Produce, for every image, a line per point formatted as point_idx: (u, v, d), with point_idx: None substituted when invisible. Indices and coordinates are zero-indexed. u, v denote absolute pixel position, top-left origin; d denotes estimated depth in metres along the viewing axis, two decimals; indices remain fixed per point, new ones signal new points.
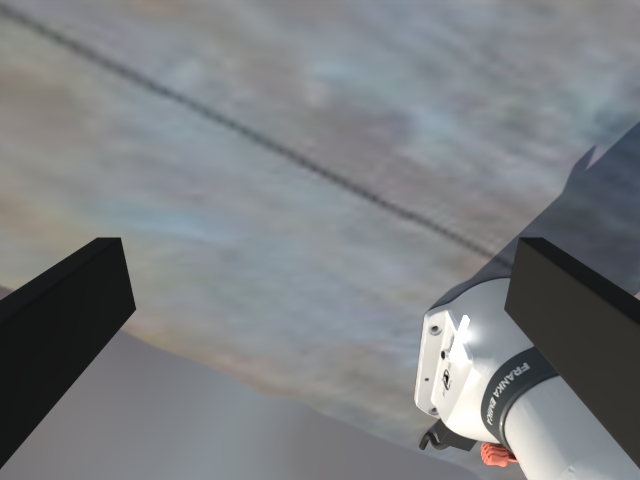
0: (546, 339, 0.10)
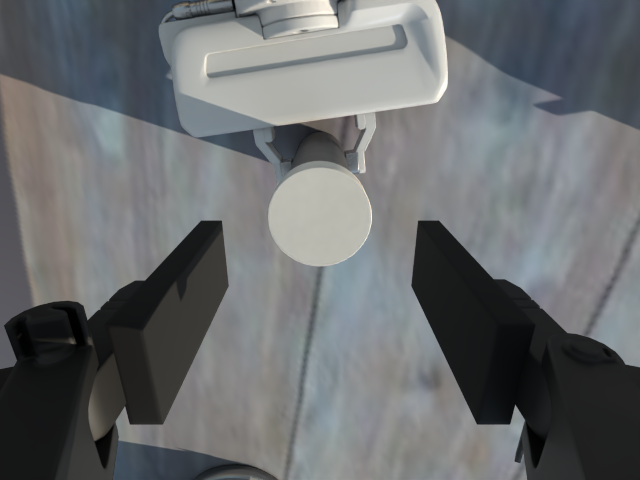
0: (429, 307, 0.12)
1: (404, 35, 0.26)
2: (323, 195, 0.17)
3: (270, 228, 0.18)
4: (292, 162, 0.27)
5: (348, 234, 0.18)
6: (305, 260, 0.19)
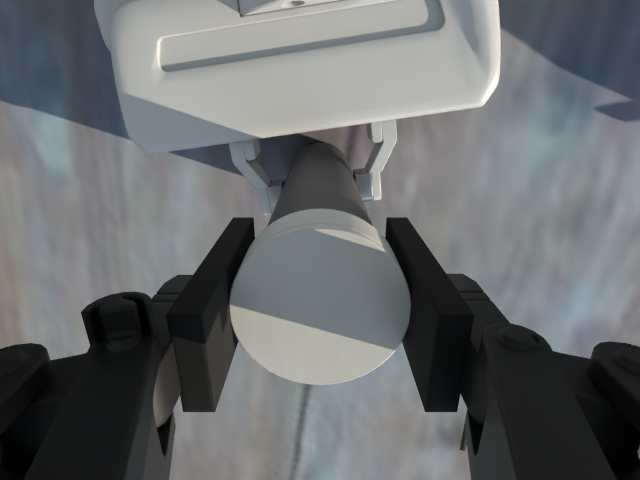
0: None
1: (440, 10, 0.18)
2: (327, 275, 0.10)
3: (234, 328, 0.10)
4: None
5: (369, 337, 0.10)
6: (296, 376, 0.11)
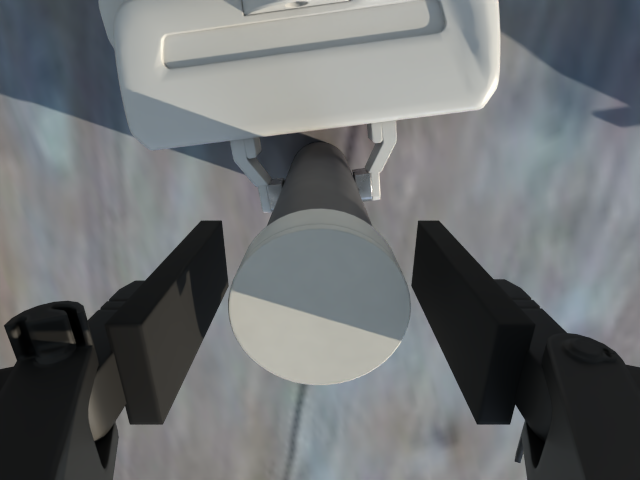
0: (429, 307, 0.12)
1: (442, 14, 0.18)
2: (277, 303, 0.10)
3: (323, 383, 0.11)
4: None
5: (356, 271, 0.10)
6: (391, 344, 0.11)
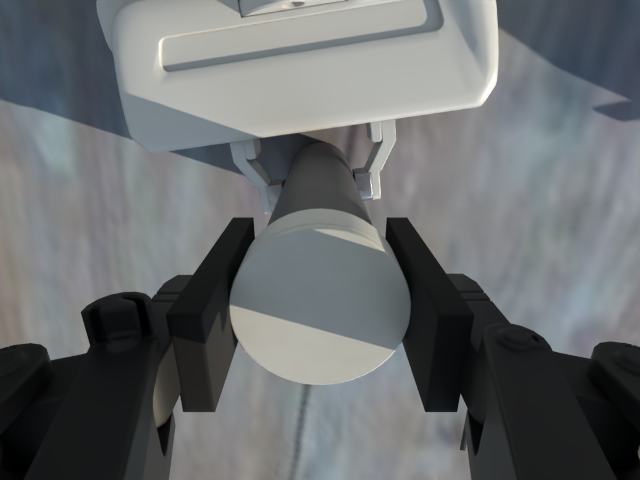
0: None
1: (439, 11, 0.18)
2: (277, 303, 0.10)
3: (325, 383, 0.11)
4: (282, 189, 0.19)
5: (356, 271, 0.10)
6: (392, 343, 0.11)
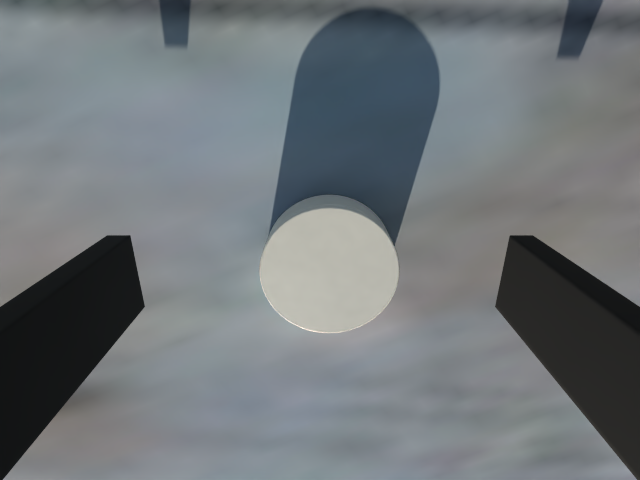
0: (535, 335, 0.11)
1: None
2: (297, 266, 0.13)
3: (333, 331, 0.14)
4: None
5: (357, 240, 0.13)
6: (385, 298, 0.14)
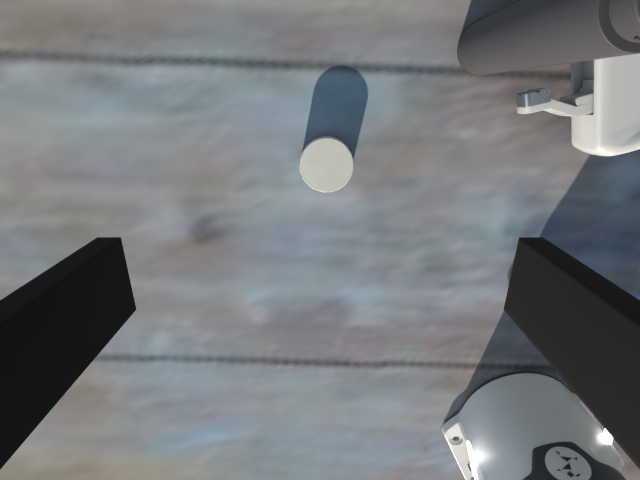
0: (546, 339, 0.10)
1: None
2: (314, 162, 0.34)
3: (328, 191, 0.35)
4: None
5: (336, 151, 0.34)
6: (348, 176, 0.35)
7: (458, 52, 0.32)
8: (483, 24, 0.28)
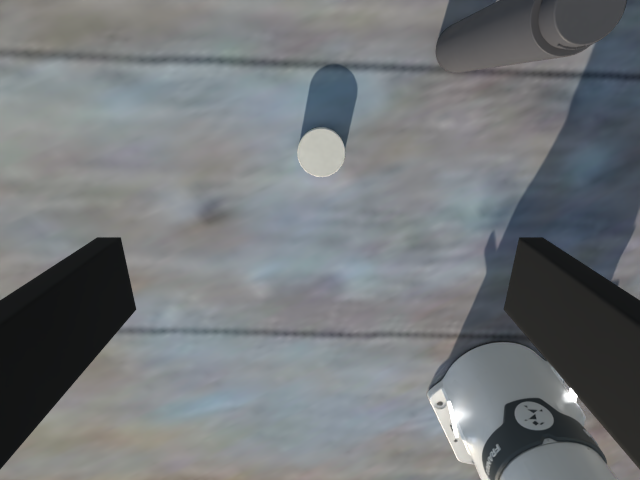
0: (546, 338, 0.10)
1: None
2: (310, 150, 0.39)
3: (322, 176, 0.40)
4: None
5: (330, 140, 0.38)
6: (340, 162, 0.39)
7: (436, 52, 0.37)
8: (455, 29, 0.32)
